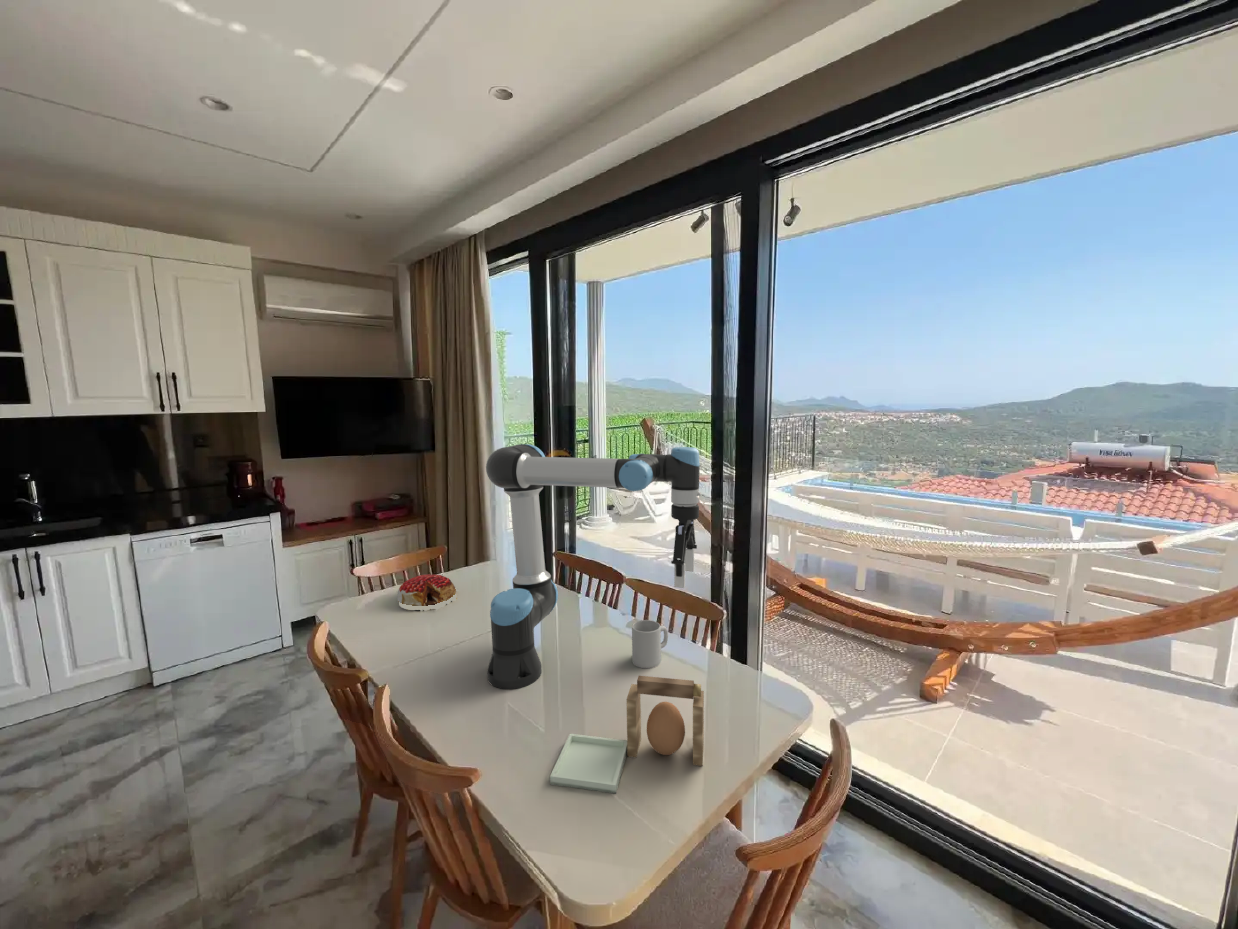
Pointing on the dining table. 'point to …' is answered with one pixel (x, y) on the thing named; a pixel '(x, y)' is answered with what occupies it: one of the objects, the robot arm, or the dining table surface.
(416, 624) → the dining table surface
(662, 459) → the robot arm
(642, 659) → the mug
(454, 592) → the cake
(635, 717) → the wooden post pair
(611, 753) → the dish
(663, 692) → the wooden crossbeam
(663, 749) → the egg
